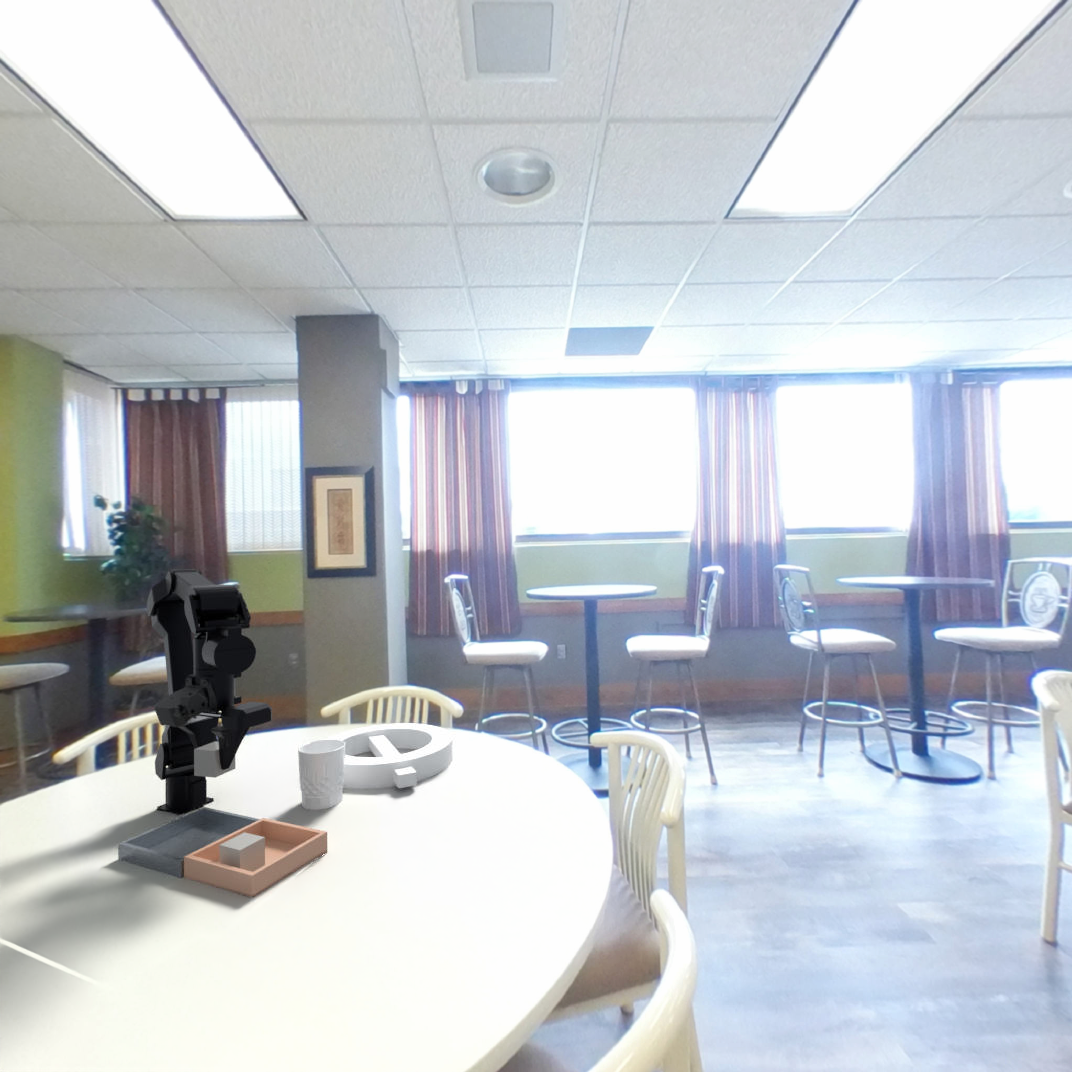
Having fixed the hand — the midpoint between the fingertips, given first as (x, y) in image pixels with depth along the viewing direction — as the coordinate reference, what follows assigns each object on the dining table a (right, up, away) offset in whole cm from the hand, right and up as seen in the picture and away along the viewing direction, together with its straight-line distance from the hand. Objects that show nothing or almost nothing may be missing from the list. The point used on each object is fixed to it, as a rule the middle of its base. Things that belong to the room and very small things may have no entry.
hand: (215, 767), depth 93 cm
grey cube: (0, -1, 0) cm, 1 cm away
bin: (-1, -11, -3) cm, 11 cm away
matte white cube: (+10, -10, -11) cm, 18 cm away
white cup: (+12, -11, +12) cm, 21 cm away
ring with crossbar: (+18, -12, +33) cm, 40 cm away
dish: (+11, -10, -9) cm, 17 cm away
